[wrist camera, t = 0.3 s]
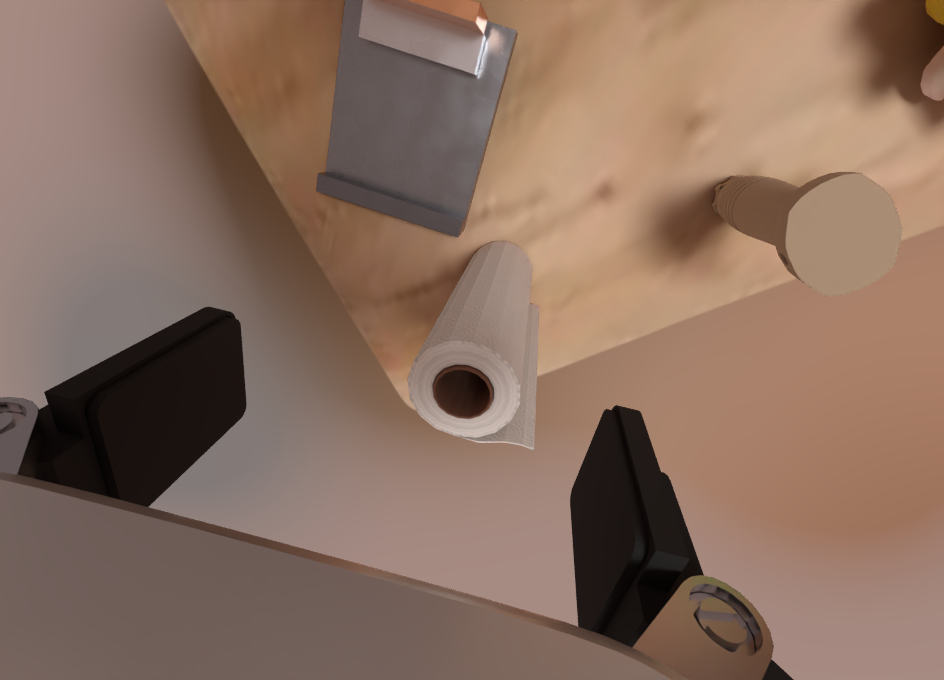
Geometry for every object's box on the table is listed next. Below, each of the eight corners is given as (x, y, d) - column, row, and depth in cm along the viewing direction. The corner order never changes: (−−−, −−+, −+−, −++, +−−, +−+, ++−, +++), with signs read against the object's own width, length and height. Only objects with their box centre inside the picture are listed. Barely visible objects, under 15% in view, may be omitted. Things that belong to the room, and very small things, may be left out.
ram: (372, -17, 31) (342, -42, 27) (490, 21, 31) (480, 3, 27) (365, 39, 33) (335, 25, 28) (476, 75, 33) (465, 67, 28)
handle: (746, 142, 34) (877, 153, 20) (776, 212, 35) (915, 264, 22) (685, 179, 35) (768, 212, 22) (717, 244, 37) (812, 310, 24)
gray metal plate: (355, -18, 33) (338, -31, 30) (517, 34, 33) (515, 26, 30) (331, 186, 40) (316, 191, 37) (463, 230, 40) (458, 237, 37)
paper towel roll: (463, 246, 41) (390, 351, 22) (526, 233, 39) (508, 334, 20) (479, 315, 44) (429, 461, 25) (539, 306, 42) (534, 453, 23)
